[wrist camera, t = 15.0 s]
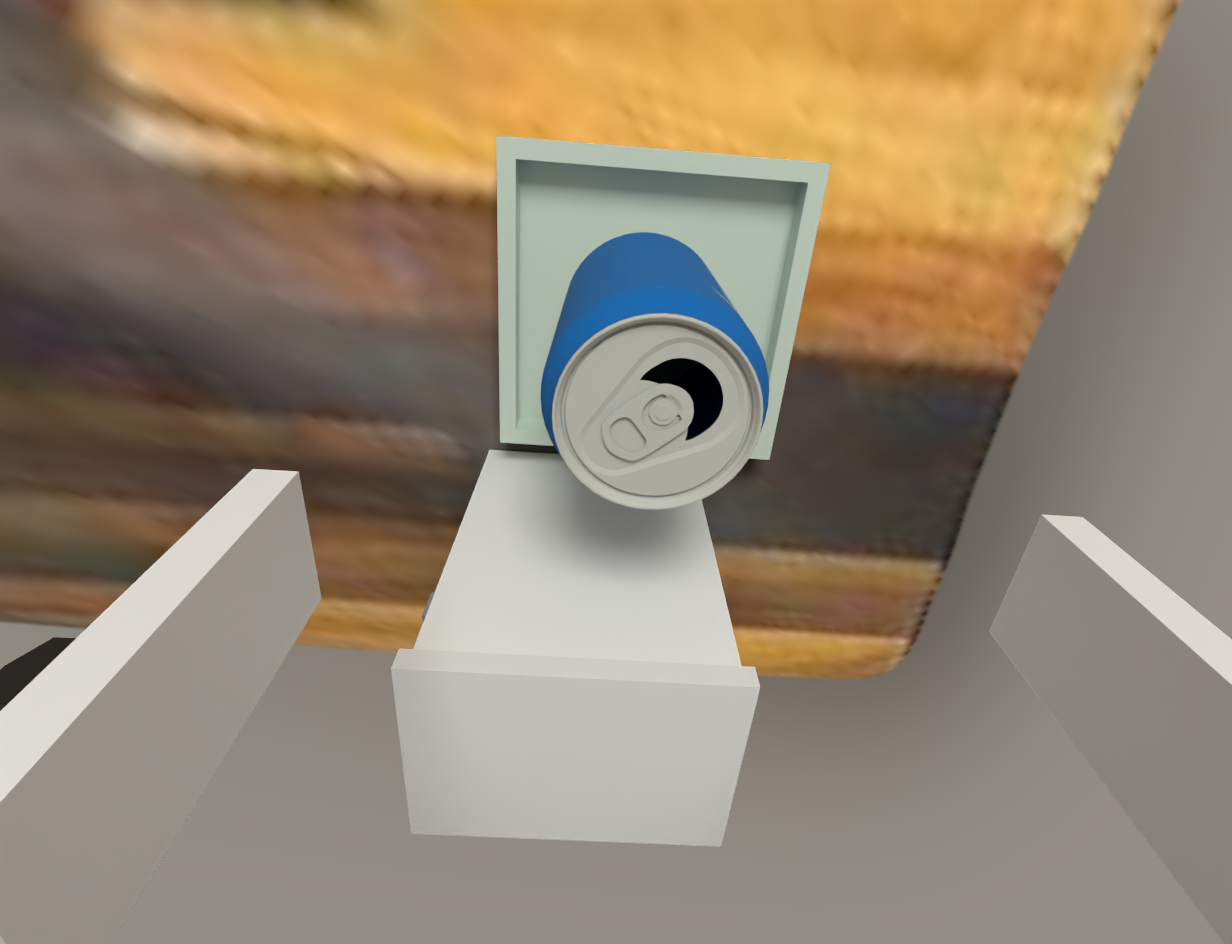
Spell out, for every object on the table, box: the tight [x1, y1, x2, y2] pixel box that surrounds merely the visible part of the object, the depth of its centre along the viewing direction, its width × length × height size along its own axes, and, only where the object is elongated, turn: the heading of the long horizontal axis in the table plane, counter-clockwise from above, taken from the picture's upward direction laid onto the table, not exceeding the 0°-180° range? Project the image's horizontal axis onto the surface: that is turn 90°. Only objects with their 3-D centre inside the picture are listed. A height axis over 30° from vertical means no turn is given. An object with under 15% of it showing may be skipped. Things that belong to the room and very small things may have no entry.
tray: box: [496, 136, 831, 460], centre depth 27 cm, size 12×12×2 cm
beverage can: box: [541, 232, 769, 510], centre depth 22 cm, size 6×6×12 cm
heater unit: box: [391, 450, 760, 847], centre depth 27 cm, size 11×8×15 cm
